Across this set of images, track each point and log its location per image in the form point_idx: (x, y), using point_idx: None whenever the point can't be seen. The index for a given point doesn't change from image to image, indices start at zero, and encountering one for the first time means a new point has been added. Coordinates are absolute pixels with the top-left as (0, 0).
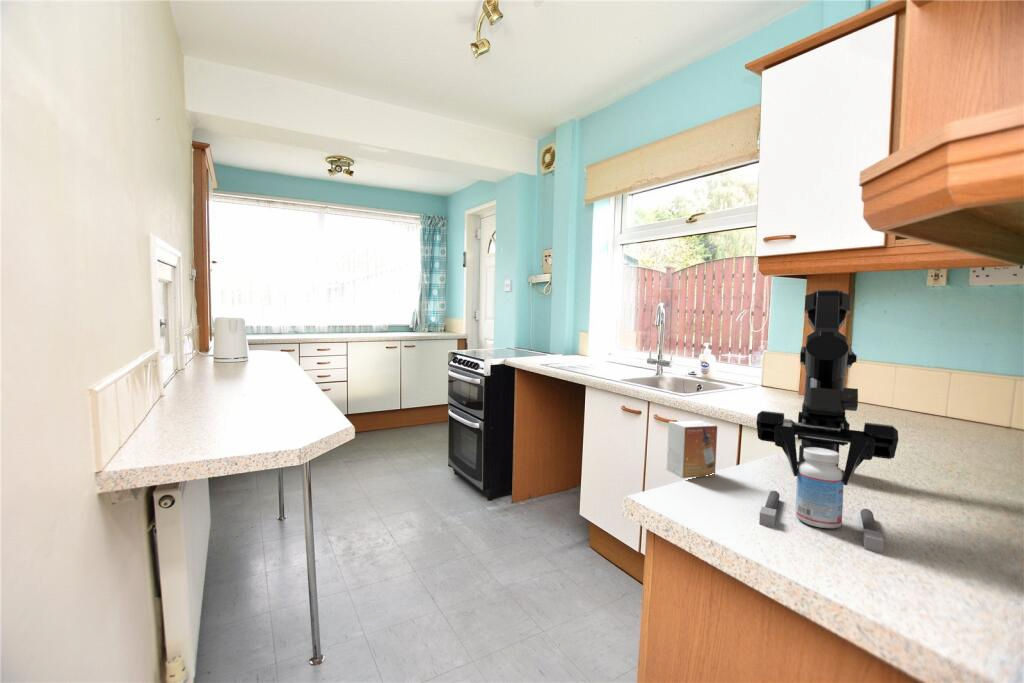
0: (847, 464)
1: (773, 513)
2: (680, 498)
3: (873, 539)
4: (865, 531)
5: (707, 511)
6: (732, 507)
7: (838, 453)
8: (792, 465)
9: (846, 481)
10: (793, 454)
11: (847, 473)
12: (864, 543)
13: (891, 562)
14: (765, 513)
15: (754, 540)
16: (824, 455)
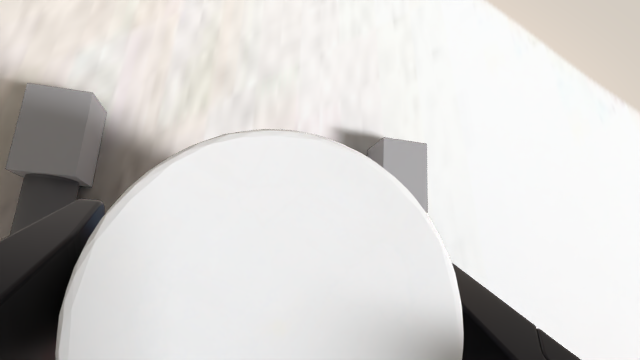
0: (2, 287)
1: (388, 162)
2: (621, 242)
3: (66, 90)
4: (77, 143)
5: (538, 176)
6: (492, 258)
7: (62, 325)
8: None
9: (86, 200)
10: (492, 311)
11: (51, 225)
12: (100, 119)
13: (42, 44)
14: (411, 146)
15: (405, 33)
16: (265, 131)
